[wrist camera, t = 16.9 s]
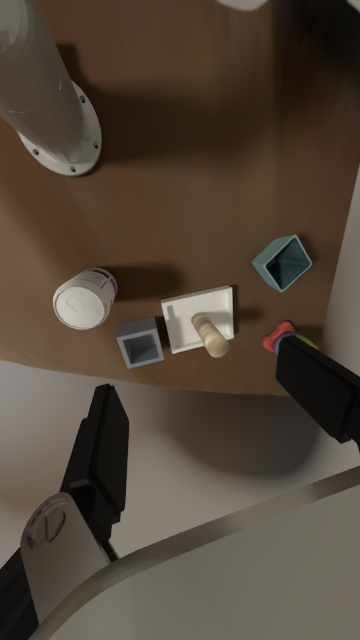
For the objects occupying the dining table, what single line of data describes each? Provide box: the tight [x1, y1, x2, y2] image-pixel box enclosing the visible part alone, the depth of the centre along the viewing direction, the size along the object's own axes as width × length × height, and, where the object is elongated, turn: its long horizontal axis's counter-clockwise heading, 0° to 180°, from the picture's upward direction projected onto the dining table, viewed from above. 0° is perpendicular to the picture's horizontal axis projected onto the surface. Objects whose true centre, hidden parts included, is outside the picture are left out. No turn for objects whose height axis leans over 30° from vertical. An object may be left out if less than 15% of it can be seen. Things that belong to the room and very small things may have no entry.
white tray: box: [161, 285, 233, 353], centre depth 49 cm, size 15×18×2 cm
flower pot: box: [252, 235, 312, 292], centre depth 43 cm, size 9×9×9 cm
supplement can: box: [53, 268, 117, 329], centre depth 35 cm, size 8×8×15 cm
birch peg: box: [191, 312, 229, 357], centre depth 43 cm, size 4×4×14 cm
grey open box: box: [116, 317, 164, 369], centre depth 46 cm, size 9×9×7 cm
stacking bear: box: [261, 321, 318, 355], centre depth 51 cm, size 11×10×18 cm
